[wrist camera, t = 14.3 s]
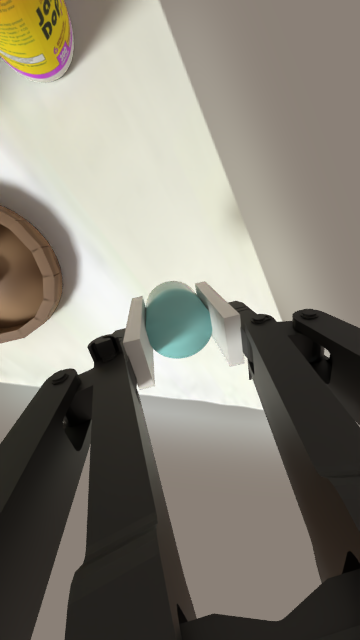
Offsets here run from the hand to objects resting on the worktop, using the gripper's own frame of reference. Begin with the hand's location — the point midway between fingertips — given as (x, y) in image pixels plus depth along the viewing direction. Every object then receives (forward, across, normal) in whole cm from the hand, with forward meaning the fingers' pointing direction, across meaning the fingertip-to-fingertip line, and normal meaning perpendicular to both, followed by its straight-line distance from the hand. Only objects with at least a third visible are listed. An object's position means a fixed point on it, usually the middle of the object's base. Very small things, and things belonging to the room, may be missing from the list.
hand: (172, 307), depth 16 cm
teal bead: (0, 0, 0) cm, 0 cm away
